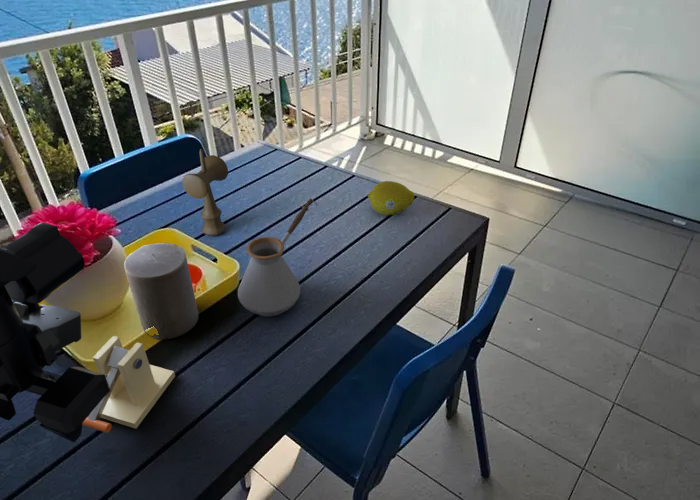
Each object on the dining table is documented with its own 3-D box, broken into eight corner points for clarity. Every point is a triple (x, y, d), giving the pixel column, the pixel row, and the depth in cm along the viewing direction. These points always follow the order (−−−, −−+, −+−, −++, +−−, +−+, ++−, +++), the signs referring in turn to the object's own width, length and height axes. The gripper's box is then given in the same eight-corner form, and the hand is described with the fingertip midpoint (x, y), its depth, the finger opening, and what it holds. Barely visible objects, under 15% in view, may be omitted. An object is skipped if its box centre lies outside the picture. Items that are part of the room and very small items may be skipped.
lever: (111, 433, 68) (101, 431, 66) (78, 423, 69) (67, 420, 67) (146, 356, 72) (137, 352, 70) (113, 347, 74) (104, 343, 72)
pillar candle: (160, 348, 84) (140, 279, 75) (132, 319, 89) (110, 252, 80) (210, 319, 90) (196, 252, 81) (180, 294, 95) (164, 228, 86)
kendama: (236, 222, 115) (225, 141, 103) (215, 245, 108) (202, 161, 96) (212, 217, 116) (199, 137, 105) (191, 240, 109) (174, 156, 97)
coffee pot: (277, 332, 87) (271, 265, 78) (226, 309, 92) (215, 243, 83) (338, 267, 103) (339, 205, 94) (291, 250, 107) (288, 189, 98)
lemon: (363, 216, 118) (364, 187, 114) (372, 200, 125) (374, 172, 120) (407, 225, 116) (410, 195, 111) (414, 209, 122) (418, 179, 117)
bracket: (136, 428, 71) (119, 384, 66) (89, 414, 73) (68, 370, 67) (175, 376, 79) (163, 332, 73) (132, 364, 81) (117, 320, 75)
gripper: (124, 300, 53) (154, 393, 62) (-16, 265, 57) (32, 357, 66) (43, 380, 44) (92, 475, 53) (-115, 332, 48) (-44, 427, 57)
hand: (43, 427), depth 58 cm, fingers open, 9 cm apart
